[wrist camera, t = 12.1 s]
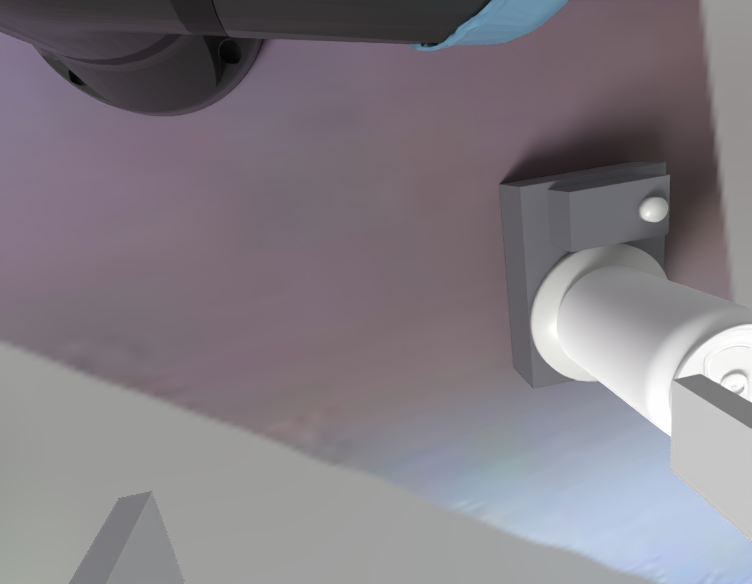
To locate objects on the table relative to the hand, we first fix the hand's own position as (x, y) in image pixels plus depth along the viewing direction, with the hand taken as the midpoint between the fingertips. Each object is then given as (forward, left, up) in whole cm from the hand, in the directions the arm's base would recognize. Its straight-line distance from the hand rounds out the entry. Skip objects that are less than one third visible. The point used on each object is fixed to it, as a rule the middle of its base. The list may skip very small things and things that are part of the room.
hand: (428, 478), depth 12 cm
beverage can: (+7, +18, -22) cm, 29 cm away
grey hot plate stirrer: (+4, +18, -27) cm, 32 cm away
